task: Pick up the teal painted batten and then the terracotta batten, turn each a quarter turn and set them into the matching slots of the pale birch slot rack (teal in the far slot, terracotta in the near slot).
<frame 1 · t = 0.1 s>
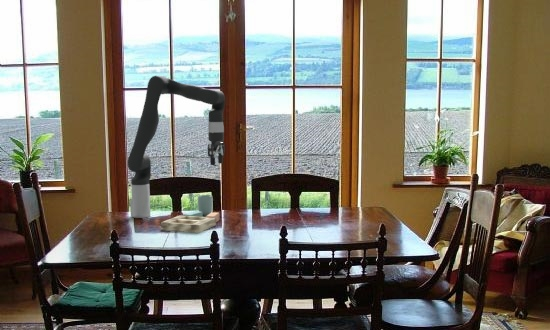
hand: (216, 164, 270), 29 cm above the table, fingers open, 8 cm apart
cup: (205, 215, 292), on the table
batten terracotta: (212, 222, 274), on the table
slot rack: (189, 227, 261), on the table
batten teal: (193, 220, 277), on the table
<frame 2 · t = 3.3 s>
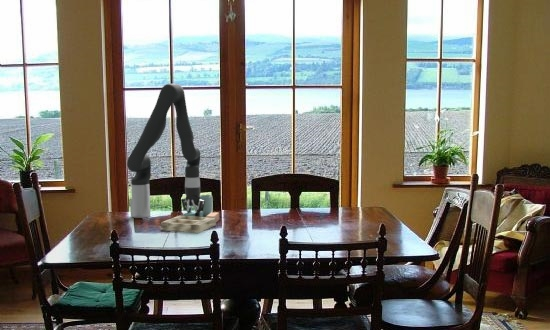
hand: (193, 219, 277), 1 cm above the table, fingers closed on batten teal, 4 cm apart
batten teal: (193, 220, 277), on the table, touching gripper
everything else where it was.
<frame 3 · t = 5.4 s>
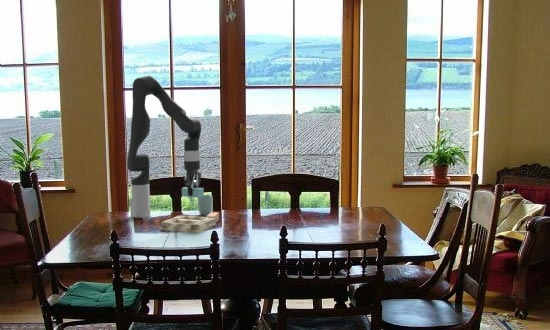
hand: (192, 194, 264), 15 cm above the table, fingers closed on batten teal, 4 cm apart
batten teal: (192, 196, 264), point 14 cm above the table, touching gripper
everything else where it was.
when the fingers open (4 cm above the table, at t = 7.7 s): batten teal drops 2 cm, resting on slot rack.
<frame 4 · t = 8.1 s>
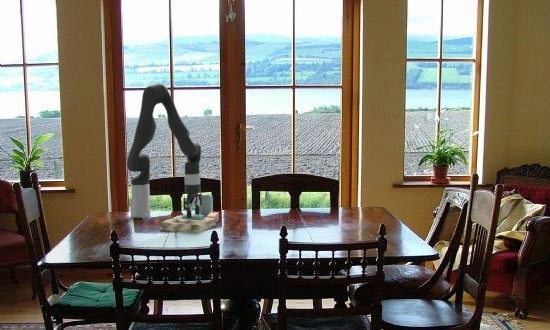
hand: (193, 216, 265), 4 cm above the table, fingers open, 7 cm apart
batten teal: (193, 223, 265), point 1 cm above the table, touching slot rack
everything else where it was.
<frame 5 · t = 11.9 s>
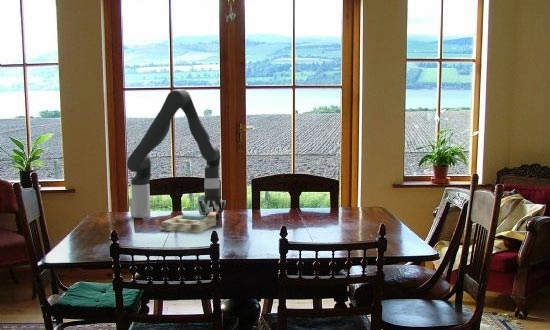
hand: (212, 220, 273), 1 cm above the table, fingers closed on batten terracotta, 4 cm apart
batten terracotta: (212, 221, 273), on the table, touching gripper
everything else where it was.
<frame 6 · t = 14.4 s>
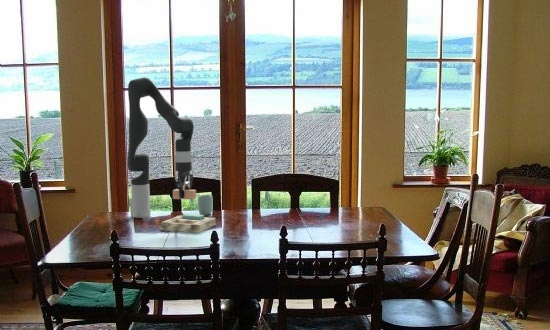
hand: (184, 197, 256), 15 cm above the table, fingers closed on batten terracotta, 4 cm apart
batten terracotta: (184, 198, 256), point 15 cm above the table, touching gripper
everything else where it was.
when the fingers open (4 cm above the table, at t = 16.9 s): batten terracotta drops 2 cm, resting on slot rack.
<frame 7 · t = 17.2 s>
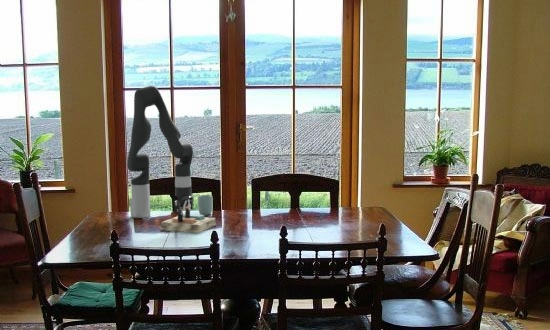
hand: (184, 220, 257), 4 cm above the table, fingers open, 6 cm apart
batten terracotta: (184, 226, 257), point 1 cm above the table, touching slot rack
everything else where it was.
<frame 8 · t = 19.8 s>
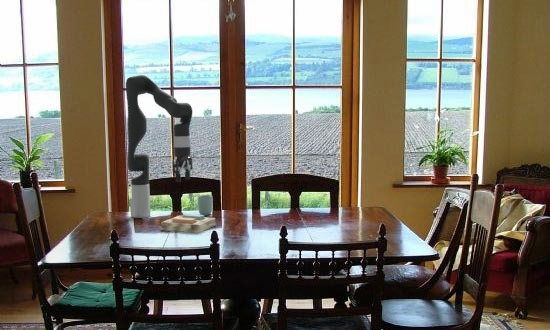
hand: (183, 180, 255), 23 cm above the table, fingers open, 8 cm apart
nothing on the table moved.
at the end: batten teal 0.1 cm from the target spot on the slot rack, point 1.1 cm above the slot rack's base; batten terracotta 0.0 cm from the target spot on the slot rack, point 1.1 cm above the slot rack's base; the gripper is holding nothing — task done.
